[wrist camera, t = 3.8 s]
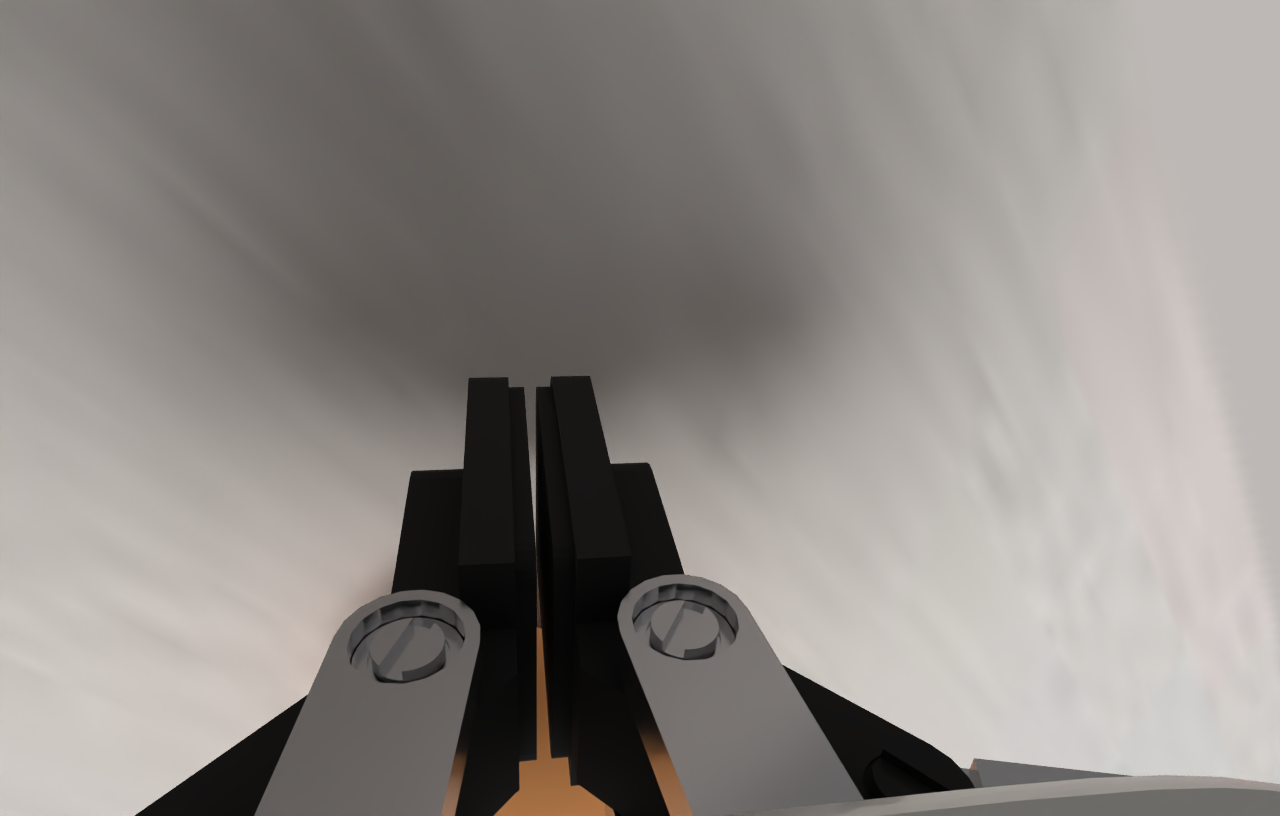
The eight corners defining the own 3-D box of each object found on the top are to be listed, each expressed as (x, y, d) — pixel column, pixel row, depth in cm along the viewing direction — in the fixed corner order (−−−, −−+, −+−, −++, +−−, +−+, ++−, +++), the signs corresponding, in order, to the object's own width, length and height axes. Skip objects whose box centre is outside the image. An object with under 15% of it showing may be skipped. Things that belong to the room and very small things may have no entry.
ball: (330, 564, 14) (255, 878, 9) (637, 551, 15) (709, 826, 10) (355, 766, 17) (308, 1087, 12) (614, 742, 18) (664, 1029, 13)
